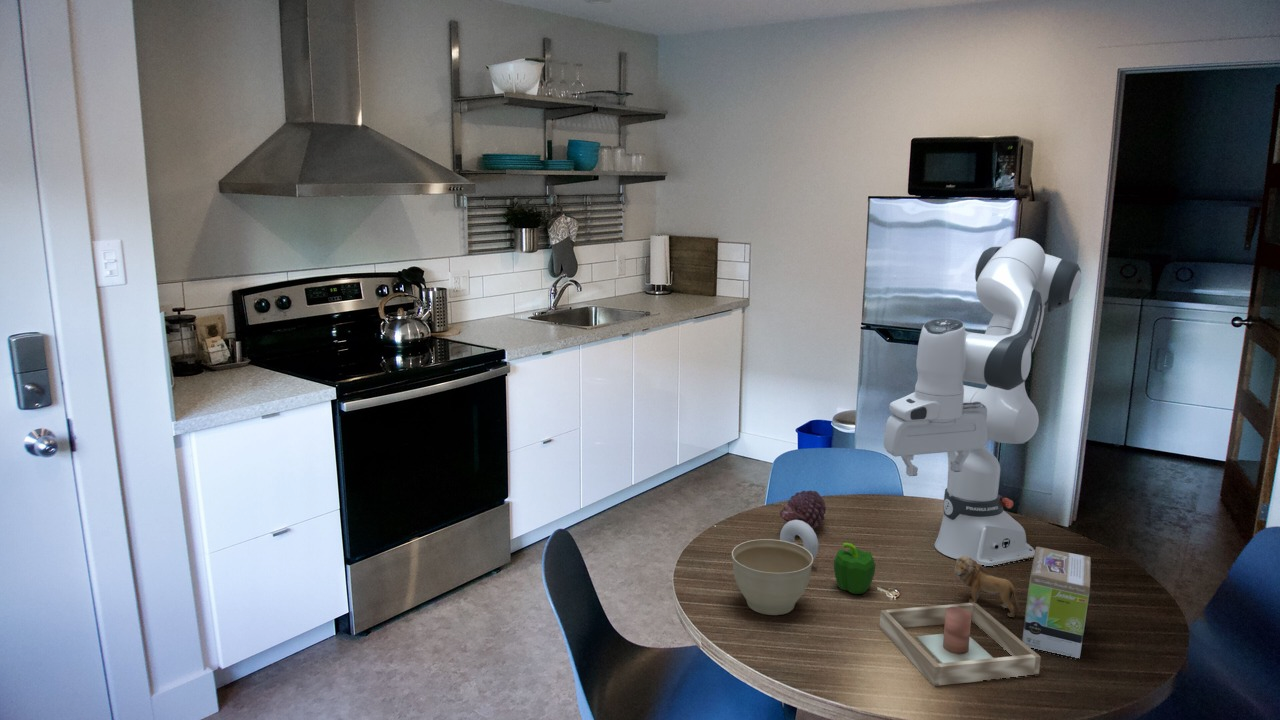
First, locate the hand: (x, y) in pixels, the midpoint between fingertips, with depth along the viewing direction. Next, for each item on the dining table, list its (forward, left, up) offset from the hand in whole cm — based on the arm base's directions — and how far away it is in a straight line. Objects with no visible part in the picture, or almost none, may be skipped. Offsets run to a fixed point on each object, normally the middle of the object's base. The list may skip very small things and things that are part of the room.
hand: (933, 473), depth 163 cm
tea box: (-20, +13, -29) cm, 38 cm away
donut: (+17, -25, -29) cm, 42 cm away
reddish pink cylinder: (+2, +15, -29) cm, 32 cm away
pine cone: (+8, -43, -29) cm, 53 cm away
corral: (+2, +15, -29) cm, 33 cm away
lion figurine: (-14, 0, -29) cm, 32 cm away
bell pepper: (+10, -11, -29) cm, 33 cm away
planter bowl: (+30, -7, -29) cm, 42 cm away
